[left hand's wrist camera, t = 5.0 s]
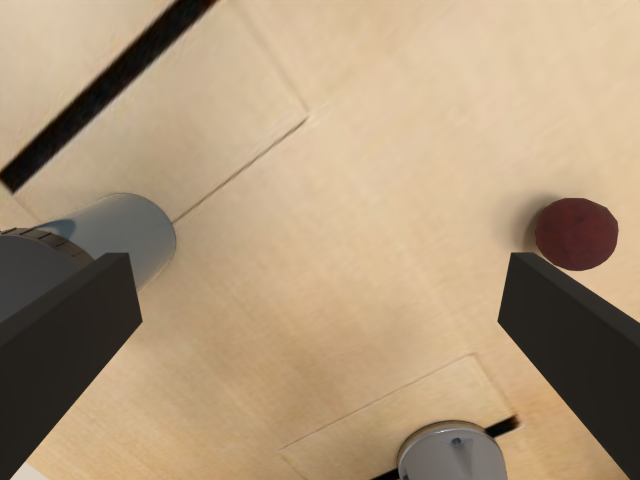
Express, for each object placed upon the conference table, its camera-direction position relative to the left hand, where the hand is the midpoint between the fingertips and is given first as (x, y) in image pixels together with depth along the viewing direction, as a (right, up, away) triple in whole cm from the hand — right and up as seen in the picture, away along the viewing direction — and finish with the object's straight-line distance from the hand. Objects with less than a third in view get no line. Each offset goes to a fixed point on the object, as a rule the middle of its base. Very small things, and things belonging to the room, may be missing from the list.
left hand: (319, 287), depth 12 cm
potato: (+27, +4, +29) cm, 39 cm away
